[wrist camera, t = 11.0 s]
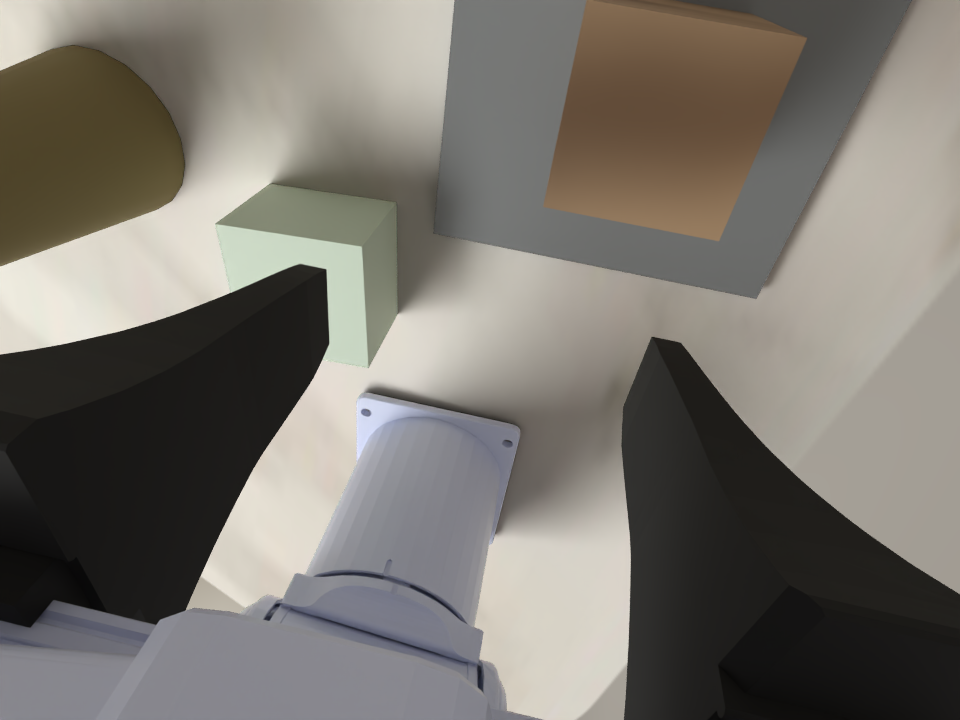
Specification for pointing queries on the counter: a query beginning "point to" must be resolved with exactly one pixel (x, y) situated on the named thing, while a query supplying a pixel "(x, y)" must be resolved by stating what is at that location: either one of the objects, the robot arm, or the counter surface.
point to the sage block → (322, 258)
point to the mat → (537, 116)
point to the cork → (79, 149)
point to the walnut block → (667, 112)
